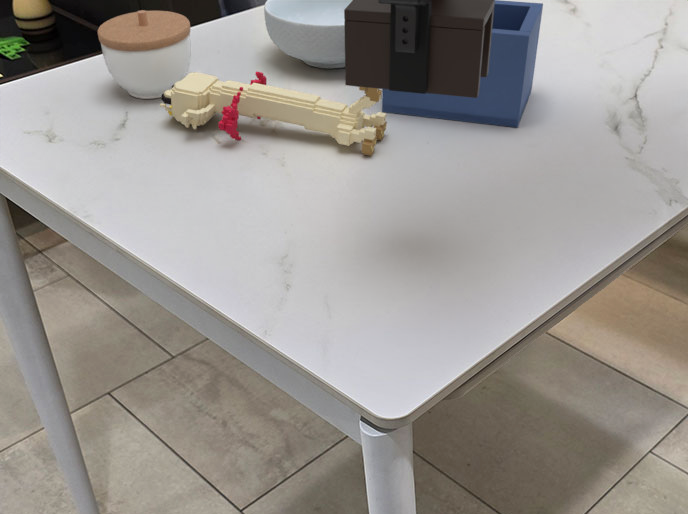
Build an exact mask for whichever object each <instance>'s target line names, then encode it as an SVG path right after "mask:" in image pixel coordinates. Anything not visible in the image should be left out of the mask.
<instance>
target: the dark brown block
mask: <svg viewBox="0 0 688 514" xmlns="http://www.w3.org/2000/svg"><path fill="white" fill-rule="evenodd" d="M428 1H432V3H431V23H430V45H429V67H428V89H427V92H426V93H430V94H440V95H451V96H461V97H471V98H477V97H478V95H479V89H480V77H487V75H488V71H489V60H490V49H491V38H492V27H493V16H494V4H495V0H428ZM390 13H391V4H382V3H379V2H378V0H353V1H352V2H351V3H350V4H349V5H348V6H347V7H346V8H345V10H344V19H345V21H344V28H345V67H344V69H345V70H344V74H345V75H344V80H345V81H344V83H345V86H349V87H356V86H357V87H356V88H359V87H368V88H378V89H379V90H383V89H389V72H390Z"/></svg>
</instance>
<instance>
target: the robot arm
mask: <svg viewBox="0 0 688 514" xmlns="http://www.w3.org/2000/svg"><path fill="white" fill-rule="evenodd" d="M378 2H379V3H382V4H391V13H390V72H389V90H390V91H400V92H411V93H421V94H425V93H426V92H427V89H428V67H429V45H430V23H431V3H432V1H428V0H378Z"/></svg>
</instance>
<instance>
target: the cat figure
mask: <svg viewBox="0 0 688 514" xmlns="http://www.w3.org/2000/svg"><path fill="white" fill-rule="evenodd" d="M254 74H255V77H256V79H251V80H250V83H244V82H241V81H236V80H235V81H234V80H229V79H228V80H226V81H221V80H220V79H219V78H218V77H217V76H216V75H211V74H207V73H202V72H198V71H194V72H189V73H187V74H186V76H185V78H183V79H182V80H181V81H177V82H176V83H175V84H174V85H173V86H172V89H171V90H167V91H165V92H164V93H163V94H162V97H161V101H162V102H161V103H159V107H160V108H163V109H164V111H167V113H168V115H169V116H172V117H173V118H174V119H175V120H176V121H177V122H180V123H181V125H184V126H185V128H190V125H191V128H192V129H193V130H197V129H198V127H200V126H204V125H205V124H207V123H208V122H209V121H210V120H211V118H213V117H214V116H215V115H216V114H221V115H222V116H221V119H220V121H218V122H217V123H218V127H217V128H218V129H219V130H220V131H225V133H227V135H229V137H230V138H231V139H233V140H235V141H241V140H242V136H240V132H239V130H237V129H238V126H239V125H238V124H239V123H238V120H239V118H240V116H242V117H246V118H252V119H258V120H260V119H261V118H262V119H263V118H264V119H267V120H268V119H269V120H273V121H278V122H282V123H286V124H292V125H296V126H301V127H303V128H304V129H305V130H308V131H311V132H317V133H321V134H325V135H326V134H327V135H330V136H331V138H332V139H333V138H334V139H335V141H336V142H337V144H339V145H344V146H347V147H349V146H351V145H353V144H354V142H355V143H358V144H361V151H360V152H362V155H364V156H369V157H372V156H373V154H374V153H375V147H376V146H377V141H382V140H383V139H384V138H385V132H386V130H387V124H388V121H386V120H387V112H382V111H377V113H371V115H369V114H366V113H365V111H364V110H365V109H368V110H369V109H370V108H372V107H373V106H374V105H376V104H377V103H379V102H380V101H381V100H382V90H383V89H378V88H368V87H357V86H355V87H356V88H358V90H359V91H362V92H363V91H364V95H363V96H362V97H360V98H358V99H357V100H356V101H354V102H353V103H351V104H350V105H349V106H348V104H347V103H343V102H338V101H332V100H328V99H323V98H321V95H316V94H312V93H308V92H301V91H299V90H298V91H297V90H292V89H289V88H283V87H277V86H273V85H269V84H267V76H266V75H264V72H261V71H255V73H254ZM167 105H169V106H167Z"/></svg>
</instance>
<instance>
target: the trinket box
mask: <svg viewBox="0 0 688 514" xmlns="http://www.w3.org/2000/svg"><path fill="white" fill-rule="evenodd" d="M97 36H98V41H99V43H100V47H101V51H102V52H101V53H102V57H103V59H104V63H105V66H106V68H107V70H108V73H109V74H110V76H111V77H112V79H113V81H114V82H115V83H116V84H117V85H118V86H120V87H121V88H122V89H124V90H125V91H127V93H128V95H129V96H131V97H134V98H136V99H142V100H151V99H160V98H162V94H163V93H164V92H165V91H167V90H171V89H172V86H173V85H174V84H175V83H176V82H177V81H181V80H182V79H183V78H185V77H186V76H187V75H188V72H189V69H190V66H191V59H192V38H191V22H190V20H189V18H187V16H185V15H183V14H180V13H178V12H174V11H168V10H145V9H141V10H137V11H134V12H128V13H124V14H120V15H117V16H114V17H112V18H110V19H108V20H106V21H104V22H103V23H102V24H100V25H99V27H98V29H97Z"/></svg>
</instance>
